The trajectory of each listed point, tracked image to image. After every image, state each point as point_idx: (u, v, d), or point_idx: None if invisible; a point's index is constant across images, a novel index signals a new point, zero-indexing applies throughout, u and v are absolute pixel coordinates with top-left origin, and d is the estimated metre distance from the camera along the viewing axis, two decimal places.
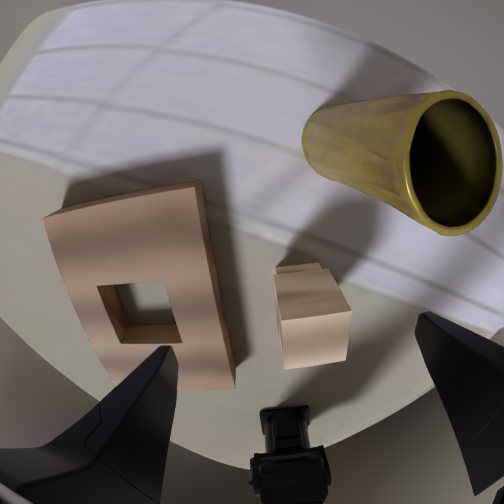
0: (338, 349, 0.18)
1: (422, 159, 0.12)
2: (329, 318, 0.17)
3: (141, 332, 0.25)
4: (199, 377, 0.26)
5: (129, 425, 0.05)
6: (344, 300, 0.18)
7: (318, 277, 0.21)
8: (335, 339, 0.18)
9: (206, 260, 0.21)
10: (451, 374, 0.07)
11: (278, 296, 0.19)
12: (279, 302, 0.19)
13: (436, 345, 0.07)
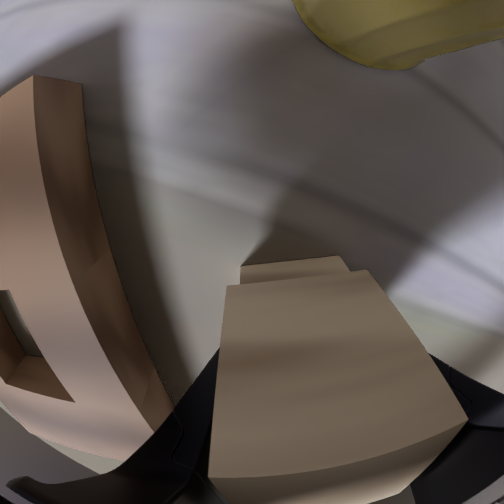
0: (391, 488, 0.04)
1: None
2: (396, 455, 0.03)
3: (33, 369, 0.12)
4: (123, 450, 0.12)
5: None
6: (438, 376, 0.04)
7: (346, 294, 0.07)
8: (391, 480, 0.04)
9: (60, 247, 0.07)
10: None
11: (224, 359, 0.06)
12: (219, 386, 0.05)
13: None
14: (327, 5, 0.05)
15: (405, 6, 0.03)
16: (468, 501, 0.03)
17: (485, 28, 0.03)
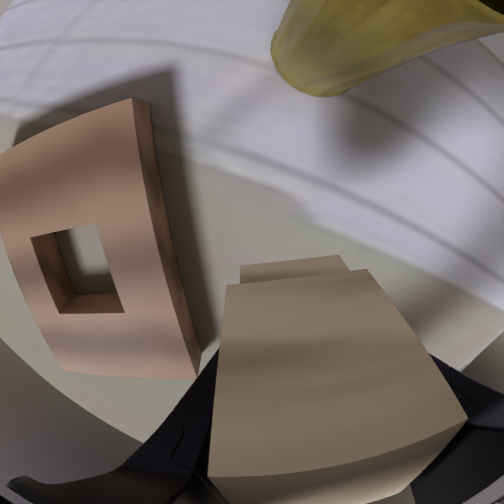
0: (391, 487, 0.04)
1: None
2: (396, 454, 0.03)
3: (84, 301, 0.20)
4: (151, 361, 0.20)
5: None
6: (437, 376, 0.04)
7: (346, 294, 0.07)
8: (391, 480, 0.04)
9: (145, 192, 0.15)
10: None
11: (223, 358, 0.06)
12: (219, 385, 0.05)
13: None
14: (287, 67, 0.13)
15: (318, 73, 0.11)
16: (468, 501, 0.03)
17: (357, 77, 0.10)
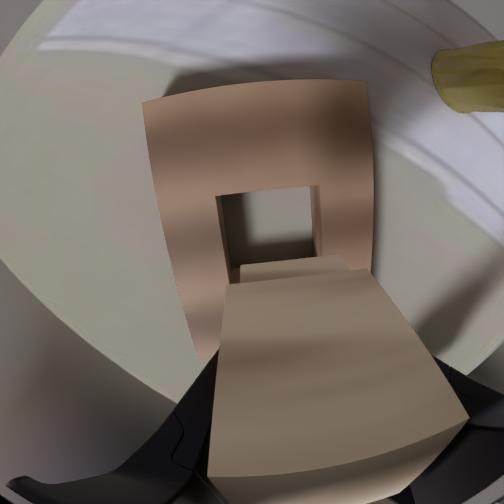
0: (392, 488, 0.04)
1: None
2: (397, 454, 0.03)
3: None
4: None
5: None
6: (438, 375, 0.04)
7: (346, 293, 0.07)
8: (392, 480, 0.04)
9: (371, 162, 0.16)
10: None
11: (223, 358, 0.06)
12: (219, 385, 0.05)
13: None
14: (452, 90, 0.15)
15: (481, 102, 0.13)
16: (468, 501, 0.03)
17: (502, 111, 0.12)
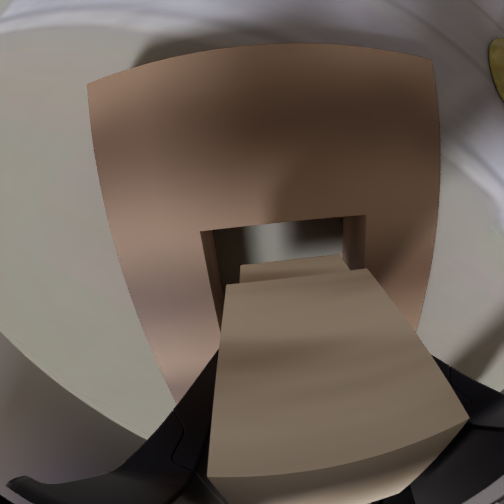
0: (392, 488, 0.04)
1: None
2: (397, 454, 0.03)
3: None
4: None
5: None
6: (438, 375, 0.04)
7: (346, 293, 0.07)
8: (392, 480, 0.04)
9: (438, 181, 0.10)
10: None
11: (223, 358, 0.06)
12: (219, 385, 0.05)
13: None
14: None
15: None
16: (468, 501, 0.03)
17: None
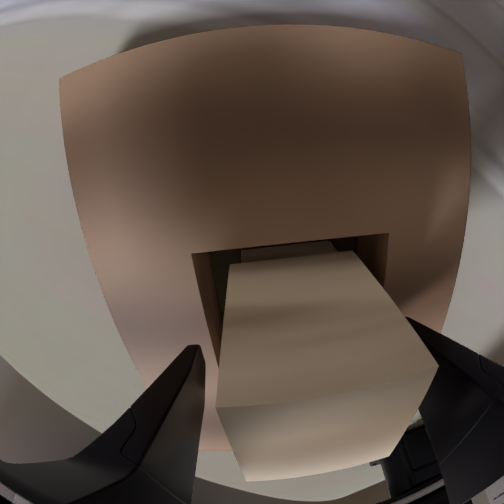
0: (379, 445, 0.06)
1: None
2: (375, 394, 0.05)
3: None
4: None
5: (166, 429, 0.05)
6: (410, 331, 0.06)
7: (332, 269, 0.09)
8: (378, 432, 0.05)
9: (467, 192, 0.08)
10: None
11: (228, 318, 0.07)
12: (225, 338, 0.06)
13: None
14: None
15: None
16: (499, 480, 0.03)
17: None
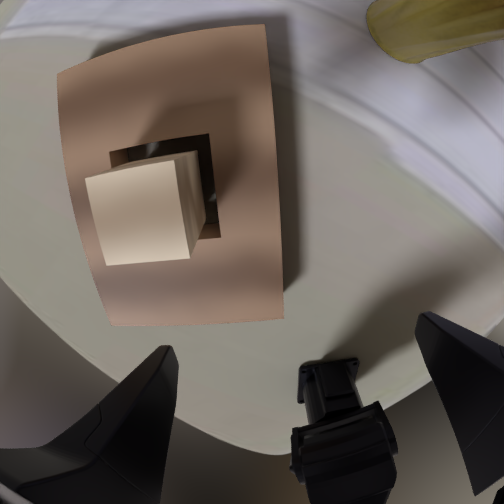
0: (171, 233, 0.12)
1: None
2: (143, 172, 0.11)
3: None
4: (237, 300, 0.20)
5: (129, 425, 0.05)
6: (177, 157, 0.12)
7: (175, 154, 0.15)
8: (161, 213, 0.12)
9: (271, 106, 0.14)
10: (451, 374, 0.07)
11: (111, 168, 0.14)
12: None
13: (436, 345, 0.07)
14: (387, 33, 0.13)
15: (419, 40, 0.11)
16: None
17: (447, 48, 0.10)
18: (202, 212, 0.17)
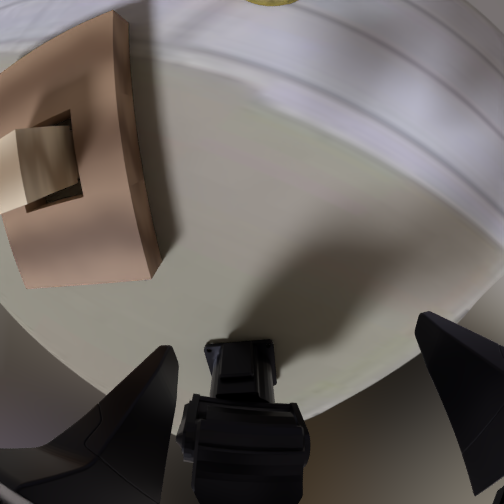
0: (16, 185, 0.11)
1: None
2: (2, 142, 0.10)
3: (52, 203, 0.18)
4: (105, 258, 0.19)
5: (129, 425, 0.05)
6: (26, 128, 0.11)
7: None
8: (10, 170, 0.11)
9: (113, 74, 0.14)
10: (451, 374, 0.07)
11: None
12: None
13: (436, 345, 0.07)
14: None
15: None
16: None
17: None
18: (69, 176, 0.16)
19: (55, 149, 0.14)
